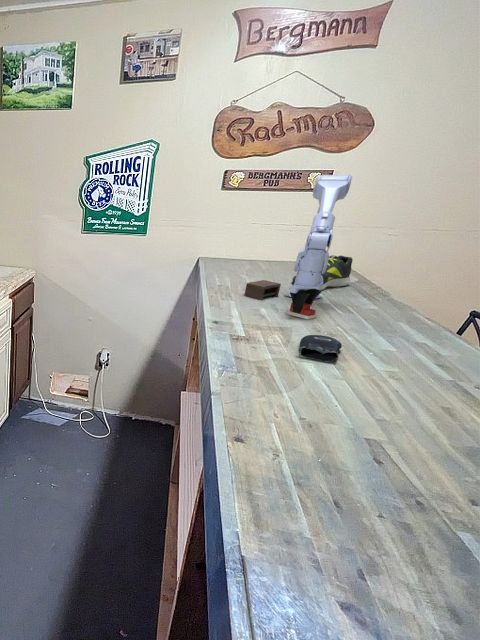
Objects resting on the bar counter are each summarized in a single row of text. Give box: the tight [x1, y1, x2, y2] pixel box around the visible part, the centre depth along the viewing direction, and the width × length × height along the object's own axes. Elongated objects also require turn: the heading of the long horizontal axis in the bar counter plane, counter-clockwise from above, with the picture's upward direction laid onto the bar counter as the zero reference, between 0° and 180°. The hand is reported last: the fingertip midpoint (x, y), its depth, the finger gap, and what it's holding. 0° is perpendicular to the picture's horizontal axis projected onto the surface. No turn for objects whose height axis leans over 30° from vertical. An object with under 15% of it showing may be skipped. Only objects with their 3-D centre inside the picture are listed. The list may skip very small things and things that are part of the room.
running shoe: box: [290, 254, 353, 291], centre depth 185 cm, size 11×30×12 cm, turn 115°
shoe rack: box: [244, 279, 282, 301], centre depth 174 cm, size 10×7×5 cm
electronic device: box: [297, 334, 343, 363], centre depth 123 cm, size 9×6×15 cm
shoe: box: [286, 302, 317, 320], centre depth 151 cm, size 7×4×4 cm, turn 27°
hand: (300, 311), depth 152 cm, fingers closed on shoe, 3 cm apart
